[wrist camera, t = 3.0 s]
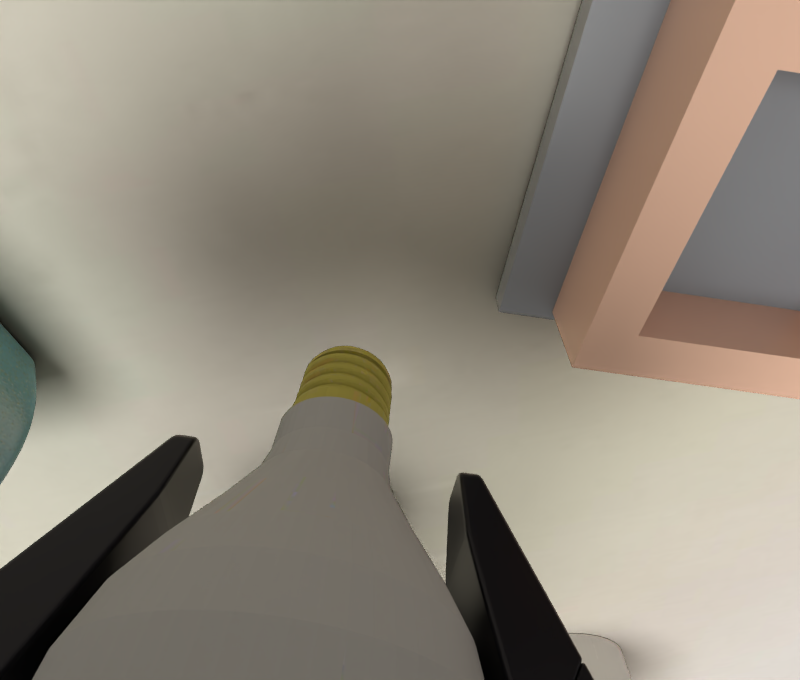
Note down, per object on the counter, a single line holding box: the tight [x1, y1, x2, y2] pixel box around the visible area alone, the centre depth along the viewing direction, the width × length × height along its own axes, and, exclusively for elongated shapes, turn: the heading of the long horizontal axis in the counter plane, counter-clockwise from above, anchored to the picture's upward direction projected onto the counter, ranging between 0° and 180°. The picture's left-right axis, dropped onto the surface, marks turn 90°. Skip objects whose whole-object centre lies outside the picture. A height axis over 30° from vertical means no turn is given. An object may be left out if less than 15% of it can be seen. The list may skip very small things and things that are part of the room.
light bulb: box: [32, 346, 485, 680], centre depth 8 cm, size 5×6×10 cm
